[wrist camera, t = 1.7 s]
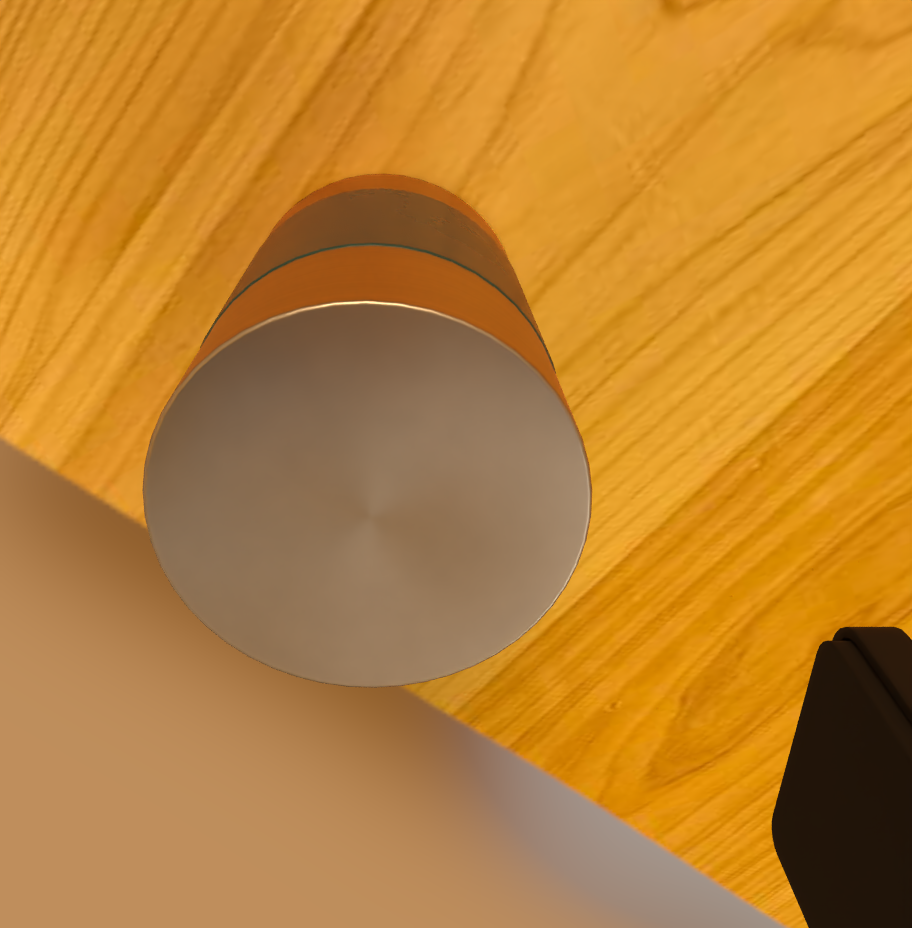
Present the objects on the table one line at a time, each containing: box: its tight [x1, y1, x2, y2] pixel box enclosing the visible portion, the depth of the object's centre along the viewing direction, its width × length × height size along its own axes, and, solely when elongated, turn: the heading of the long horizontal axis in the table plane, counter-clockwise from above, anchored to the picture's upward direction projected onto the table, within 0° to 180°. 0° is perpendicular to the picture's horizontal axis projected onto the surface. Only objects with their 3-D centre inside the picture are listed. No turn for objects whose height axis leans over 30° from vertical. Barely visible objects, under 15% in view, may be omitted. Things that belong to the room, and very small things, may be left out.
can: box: [143, 174, 592, 687], centre depth 17 cm, size 7×7×10 cm
